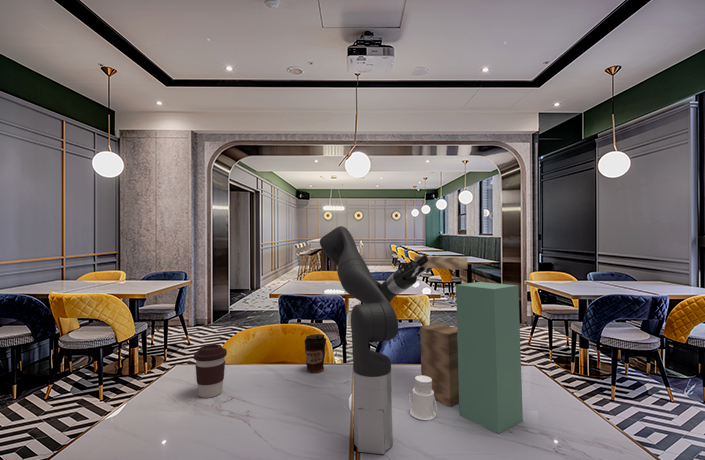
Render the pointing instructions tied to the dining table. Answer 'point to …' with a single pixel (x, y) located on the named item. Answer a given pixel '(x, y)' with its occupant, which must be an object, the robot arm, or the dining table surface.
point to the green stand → (489, 354)
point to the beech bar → (445, 262)
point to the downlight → (423, 399)
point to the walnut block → (441, 361)
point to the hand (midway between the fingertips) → (430, 257)
